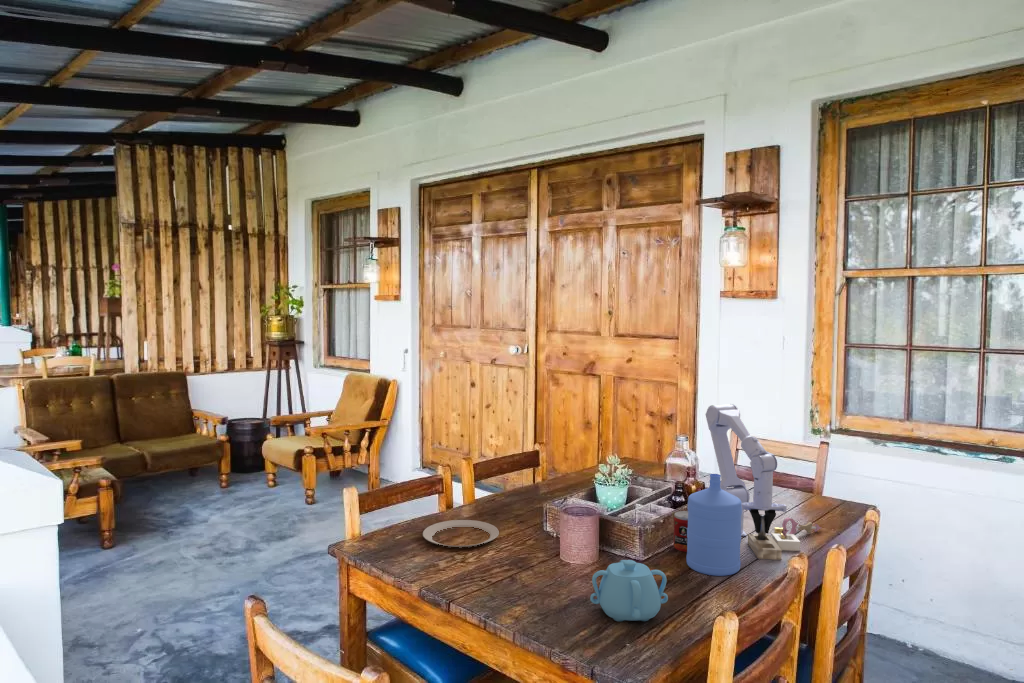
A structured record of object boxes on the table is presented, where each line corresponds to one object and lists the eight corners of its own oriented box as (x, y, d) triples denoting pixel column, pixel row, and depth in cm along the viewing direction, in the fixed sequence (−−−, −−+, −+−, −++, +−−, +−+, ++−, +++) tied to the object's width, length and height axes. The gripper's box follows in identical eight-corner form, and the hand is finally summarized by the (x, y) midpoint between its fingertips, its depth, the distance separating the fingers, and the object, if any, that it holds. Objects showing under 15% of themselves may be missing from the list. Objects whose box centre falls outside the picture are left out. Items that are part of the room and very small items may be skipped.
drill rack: (758, 558, 215) (758, 549, 215) (747, 542, 229) (748, 533, 229) (781, 559, 214) (781, 550, 214) (769, 543, 228) (769, 534, 228)
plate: (464, 557, 216) (464, 551, 215) (406, 540, 231) (406, 534, 231) (514, 535, 236) (514, 529, 236) (457, 520, 251) (457, 515, 251)
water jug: (743, 579, 200) (746, 483, 198) (687, 574, 203) (689, 480, 201) (737, 559, 215) (739, 470, 213) (685, 555, 218) (686, 467, 216)
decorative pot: (625, 594, 190) (626, 545, 189) (674, 614, 177) (674, 562, 176) (584, 611, 179) (584, 560, 178) (632, 634, 167) (633, 579, 166)
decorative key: (821, 538, 241) (783, 538, 231) (818, 537, 242) (780, 537, 232) (824, 519, 241) (786, 518, 231) (821, 518, 242) (783, 517, 232)
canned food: (670, 549, 223) (671, 516, 222) (677, 541, 230) (677, 509, 229) (694, 553, 219) (695, 519, 218) (700, 545, 226) (701, 512, 225)
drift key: (779, 542, 228) (779, 533, 228) (774, 535, 234) (774, 527, 234) (788, 542, 228) (788, 534, 228) (782, 535, 234) (782, 527, 234)
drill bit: (758, 543, 224) (759, 516, 223) (756, 541, 226) (757, 514, 226) (766, 544, 224) (767, 516, 223) (764, 541, 226) (765, 514, 225)
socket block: (777, 549, 223) (777, 540, 222) (764, 533, 239) (765, 524, 238) (799, 550, 222) (800, 541, 222) (785, 533, 238) (786, 525, 238)
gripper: (742, 493, 221) (741, 535, 222) (789, 495, 219) (788, 537, 220) (737, 487, 228) (736, 528, 229) (783, 489, 226) (782, 530, 227)
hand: (761, 532), depth 225 cm, fingers closed on drill bit, 2 cm apart
